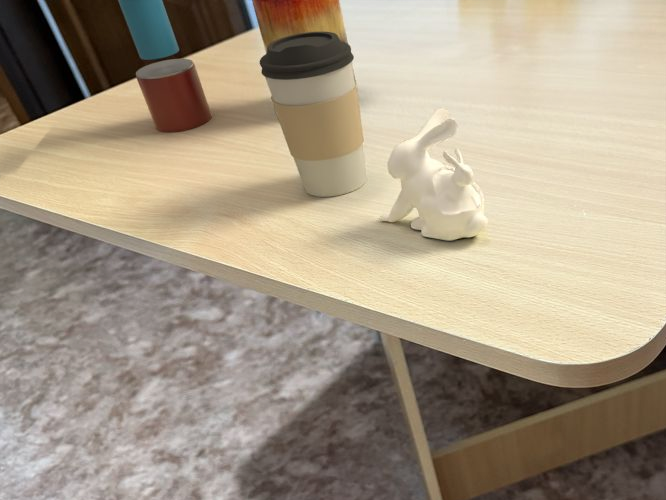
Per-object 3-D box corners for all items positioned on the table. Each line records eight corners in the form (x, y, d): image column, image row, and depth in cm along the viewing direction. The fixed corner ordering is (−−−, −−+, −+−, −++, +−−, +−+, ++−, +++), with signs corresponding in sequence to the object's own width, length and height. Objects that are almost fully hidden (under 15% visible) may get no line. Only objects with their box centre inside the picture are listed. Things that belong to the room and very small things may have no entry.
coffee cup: (300, 169, 79) (262, 30, 69) (378, 160, 79) (351, 19, 69) (289, 206, 72) (245, 56, 62) (375, 195, 72) (344, 43, 62)
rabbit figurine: (375, 220, 67) (355, 123, 61) (429, 190, 71) (415, 96, 65) (464, 255, 60) (452, 150, 54) (519, 220, 64) (513, 118, 58)
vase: (366, 106, 93) (333, -68, 80) (287, 124, 91) (240, -52, 78) (349, 84, 101) (316, -77, 88) (276, 100, 99) (232, -63, 86)
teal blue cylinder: (137, 62, 88) (94, -49, 80) (143, 51, 92) (103, -55, 84) (176, 55, 89) (137, -56, 81) (181, 45, 92) (144, -62, 85)
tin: (152, 136, 93) (129, 80, 88) (160, 116, 98) (140, 64, 94) (209, 126, 93) (190, 71, 89) (214, 107, 99) (196, 55, 95)
